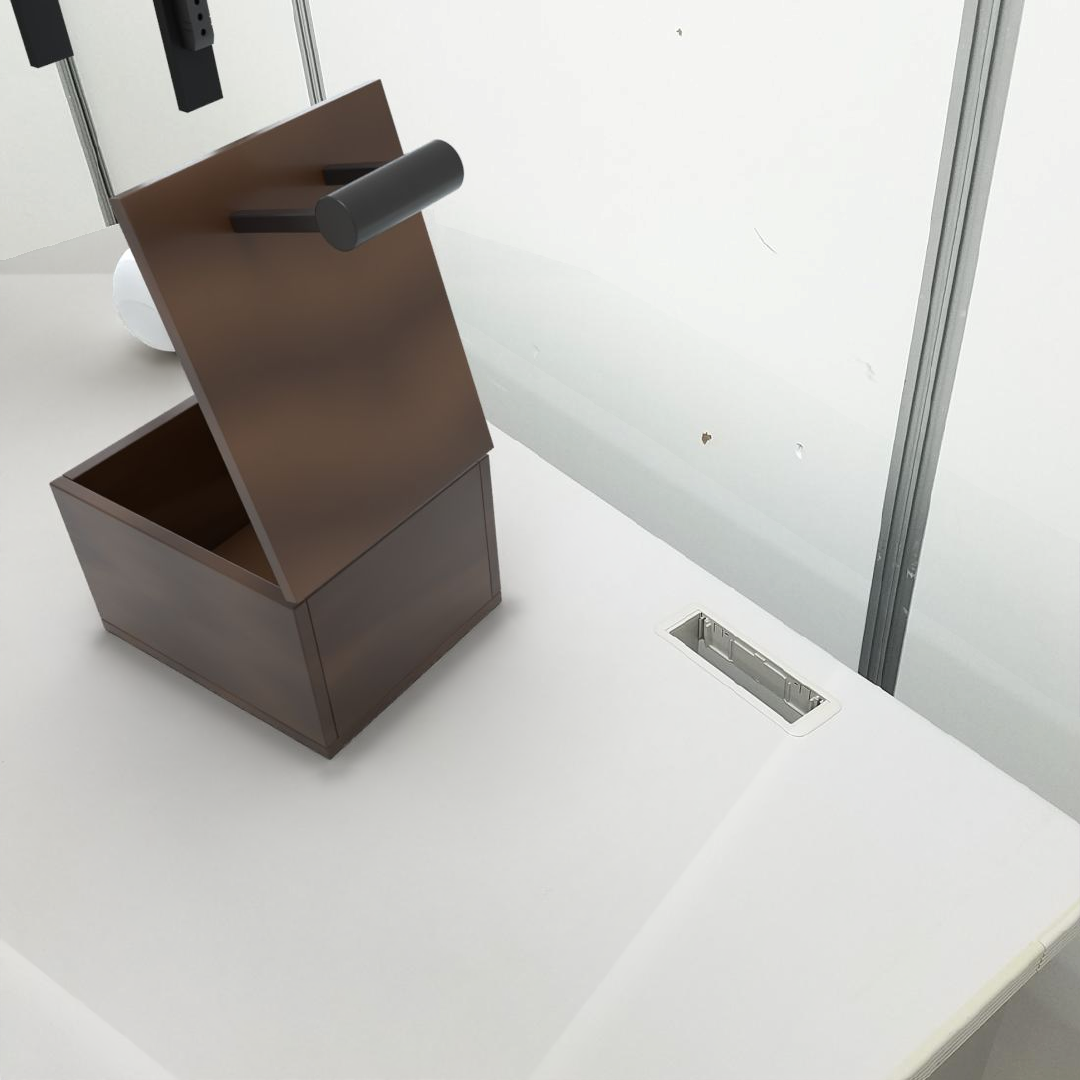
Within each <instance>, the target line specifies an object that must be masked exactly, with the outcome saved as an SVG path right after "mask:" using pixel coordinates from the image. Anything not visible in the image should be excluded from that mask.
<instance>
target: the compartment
mask: <svg viewBox="0 0 1080 1080" xmlns="http://www.w3.org/2000/svg"><path fill="white" fill-rule="evenodd" d="M48 485H49V487H50V490H51V492H52V493H51V494H52V495H53V497H54V501H55V503H56V506H57V508H58V511H59V513H60V516H61V518H62V521H63V523H64V527H65V529H66V532H67V535H68V536H69V537H68V538H69V539H70V542H71V545H72V548H73V550H74V551H75V552H74V553H75V555H76V558H77V560H78V562H79V566H80V567H81V571H82V573H83V576H84V579H85V581H86V583H87V586H88V588H89V591H90V594H91V596H92V599H93V602H94V605H95V607H96V609H97V612H98V615H99V617H100V618H101V622H102V626H103V628H104V629H105V630H107V631H108V632H110V633H111V634H113V635H115V636H117V637H119V638H120V639H122V640H124V641H126V642H127V643H129V644H131V645H132V646H134V647H136V648H137V649H139V650H141V651H143V652H144V653H146V654H148V655H150V656H151V657H153V658H155V659H157V660H158V661H160V662H162V663H164V664H165V665H166V666H169V667H170V668H172V669H174V670H175V671H177V672H179V673H180V674H182V675H184V676H185V677H187V678H188V679H191V680H193V681H194V682H195V683H197V684H200V685H201V686H203V687H204V688H206V689H208V690H210V691H211V692H213V693H215V694H217V695H219V696H220V697H222V698H224V699H225V700H227V701H229V702H231V703H232V704H234V705H235V706H237V707H239V708H241V709H243V710H244V711H246V712H248V713H249V714H251V715H253V716H255V718H258V719H259V720H262V721H263V722H265V723H266V724H268V725H270V726H272V727H274V728H275V729H277V730H279V731H280V732H282V733H284V734H285V735H288V736H289V737H290V738H292V739H294V740H296V741H297V742H299V743H301V744H303V745H304V746H306V747H308V748H310V749H311V750H313V751H314V752H316V753H318V754H320V755H321V756H323V757H325V758H326V759H329V760H331V759H333V757H334V756H336V755H337V754H338V753H339V752H340V750H342V749H343V748H344V747H345V746H346V745H347V744H348V743H349V742H350V741H352V740H353V738H355V737H356V736H357V735H358V734H359V733H360V732H361V731H363V729H364V728H365V727H367V726H368V725H369V724H370V723H371V722H372V721H373V720H374V719H375V718H376V717H378V715H380V714H381V713H382V712H383V711H384V710H385V709H386V708H387V707H388V706H390V705H391V704H392V703H393V702H394V701H395V700H396V699H397V698H398V697H399V696H400V695H402V693H404V691H406V690H407V689H408V688H409V687H410V686H411V685H412V684H413V683H415V682H416V681H417V680H418V678H420V677H421V676H422V675H424V673H426V672H427V670H429V668H431V667H432V666H433V665H434V664H435V663H436V662H437V661H438V660H439V659H441V658H442V657H443V656H444V655H445V654H446V653H447V652H448V651H449V650H450V649H451V648H453V647H454V646H455V645H456V644H457V643H458V642H459V641H460V640H461V639H462V638H463V637H464V636H465V635H466V634H468V633H469V632H470V631H471V630H472V629H473V628H474V627H476V625H478V624H479V622H480V621H482V620H483V619H484V618H485V617H486V616H487V615H488V614H489V613H490V612H491V611H492V610H494V609H495V608H496V607H497V606H498V605H499V604H500V603H501V602H502V600H503V597H502V584H501V572H500V564H499V563H500V562H499V553H498V552H499V551H498V550H499V549H498V539H497V528H496V518H495V507H494V506H495V505H494V493H493V484H492V473H491V461H490V455H489V454H488V453H487V454H485V455H484V456H483V457H482V458H480V459H479V460H478V461H477V462H475V463H474V464H473V465H472V466H470V467H469V468H468V469H467V470H465V471H464V472H463V473H462V474H460V475H459V476H458V477H456V478H455V479H454V480H453V481H451V482H450V483H449V484H448V485H446V486H445V487H444V488H443V489H441V490H440V491H439V492H438V493H436V494H435V495H434V496H433V497H431V498H430V499H429V500H428V501H426V502H425V503H424V504H422V505H421V506H420V507H419V508H417V509H416V510H415V511H414V512H412V513H411V514H410V515H409V516H407V517H406V518H405V519H404V520H402V521H401V522H400V523H399V524H397V525H396V526H395V527H394V528H392V529H391V530H390V531H388V532H387V533H386V534H385V535H383V536H382V537H381V538H380V539H378V540H377V541H376V542H375V543H373V544H372V545H371V546H370V547H368V548H367V549H366V550H365V551H363V552H362V553H361V554H360V555H358V556H357V557H356V558H355V559H353V560H352V561H351V562H349V563H348V564H347V565H346V566H344V567H343V568H342V569H341V570H339V571H338V572H337V573H336V574H334V575H333V576H332V577H331V578H329V579H328V580H327V581H326V582H324V583H323V584H322V585H321V586H319V587H318V588H317V589H315V590H314V591H313V592H312V593H310V594H309V595H308V596H307V597H305V598H304V599H303V600H302V601H300V602H299V603H293V602H290V601H286V599H285V597H284V595H283V593H282V590H281V588H280V586H279V584H278V581H277V579H276V577H275V575H274V572H273V570H272V568H271V566H270V563H269V561H268V559H267V557H266V554H265V552H264V550H263V548H262V545H261V543H260V541H259V539H258V536H257V534H256V532H255V530H254V527H253V525H252V523H251V521H250V518H249V516H248V514H247V512H246V509H245V507H244V505H243V502H242V500H241V498H240V496H239V493H238V491H237V489H236V487H235V484H234V482H233V480H232V478H231V475H230V473H229V471H228V469H227V466H226V464H225V462H224V460H223V457H222V455H221V453H220V451H219V448H218V446H217V444H216V442H215V439H214V437H213V435H212V433H211V430H210V428H209V426H208V424H207V421H206V419H205V417H204V415H203V412H202V410H201V408H200V406H199V403H198V401H197V399H196V397H195V394H194V393H193V394H192V395H191V396H189V397H188V398H185V399H183V401H181V402H180V403H177V404H176V405H175V406H173V407H171V408H169V409H168V410H166V411H164V412H163V413H161V414H159V415H158V416H155V418H153V419H151V420H150V421H148V422H146V423H144V424H143V425H142V426H139V427H138V428H137V429H135V430H133V431H132V432H130V433H128V434H126V435H125V436H123V437H121V438H120V439H118V440H117V441H115V442H113V443H112V444H110V445H109V446H108V445H107V447H105V448H104V449H102V450H100V451H98V452H97V453H95V454H93V455H92V456H90V457H89V458H87V459H86V460H84V461H82V462H81V463H79V464H77V465H75V466H73V467H71V469H69V470H67V471H66V472H64V473H62V474H61V475H60V476H58V477H56V478H55V479H54V480H51V481H50V482H49V483H48Z"/></svg>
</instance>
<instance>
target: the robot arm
mask: <svg viewBox="0 0 1080 1080" xmlns="http://www.w3.org/2000/svg"><path fill="white" fill-rule="evenodd" d="M9 2H10V4H11V5H10V6H11V8H12V11H13V14H14V17H15V20H16V21H15V22H16V23H17V27H18V30H19V34H20V37H21V40H22V44H23V47H24V50H25V53H26V56H27V59H28V62H29V65H30V67H32V68H35V69H41V68H44V67H46V66H50V65H52V64H54V63H58V62H60V61H63V60H66V59H68V58H71V57H74V56H75V53H74V50H73V49H74V48H73V47H72V42H71V39H70V36H69V35H70V34H69V32H68V29H67V25H66V21H65V19H64V14H63V11H62V8H61V5H60V1H59V0H9ZM152 4H153V8H154V12H155V16H156V20H157V24H158V29H159V33H160V37H161V42H162V46H163V49H164V55H165V58H166V62H167V67H168V70H169V74H170V80H171V83H172V87H173V88H172V89H173V92H174V95H175V100H176V104H177V105H176V106H177V108H178V111H180V112H183V113H187V114H190V113H191V112H194V111H196V110H199V109H200V108H203V107H206V106H208V105H210V104H213V103H215V102H218V101H220V100H222V99H224V94H223V89H222V86H221V79H220V75H219V70H218V66H217V65H218V64H217V61H216V56H215V52H214V47H213V45H214V44H215V31H214V26H213V24H212V23H213V22H212V18H211V17H210V16H211V13H210V12H211V11H210V8H209V3H208V0H152Z"/></svg>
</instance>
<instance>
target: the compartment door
mask: <svg viewBox="0 0 1080 1080" xmlns="http://www.w3.org/2000/svg"><path fill="white" fill-rule="evenodd" d="M390 107H391V106H390V105H389V101H388V97H387V95H386V91H385V87H384V85H383V81H382V79H381V78H376V79H367V80H365V81H363V82H361V83H359V84H356V85H354V86H352V87H350V88H348V89H346V90H344V91H341V92H339V93H337V94H335V95H333V96H330V97H328V98H326V99H324V100H322V101H319V102H317V103H315V104H313V105H311V106H308V107H307V108H304V109H302V110H299V111H298V112H296V113H295V112H294V113H293V114H290V115H289V116H286V117H284V118H282V119H280V120H277V121H276V122H274V123H271V124H269V125H267V126H264V127H263V128H262V127H261V128H260V129H257V130H256V131H254V132H252V133H249V134H247V135H244V136H243V137H240V138H239V139H235V141H231V142H230V143H228V144H226V145H223V146H221V147H219V148H217V149H216V148H215V149H214V150H212V151H209V152H208V153H206V154H203V155H201V156H199V157H197V158H195V159H193V160H190V161H188V162H185V163H184V164H181V165H179V166H177V167H175V168H172V169H171V170H169V171H166V172H164V173H162V174H160V175H157V176H155V177H153V178H151V179H149V180H146V181H144V182H141V183H140V184H138V185H136V186H133V187H130V188H129V189H127V190H124V191H123V192H119V193H117V194H116V195H114V196H112V197H110V198H108V199H107V200H108V202H109V205H110V208H111V210H112V212H113V214H114V216H115V219H116V220H117V223H118V226H119V228H120V230H121V232H122V234H123V236H124V238H125V241H126V243H127V246H128V249H129V248H130V250H131V252H132V255H133V257H134V259H135V261H136V264H137V266H138V268H139V270H140V273H141V275H142V277H143V279H144V282H145V284H146V286H147V288H148V291H149V293H150V295H151V297H152V300H153V302H154V304H155V306H156V309H157V311H158V313H159V315H160V318H161V320H162V322H163V324H164V327H165V329H166V331H167V333H168V336H169V338H170V340H171V342H172V345H173V347H174V349H175V351H174V352H175V353H176V357H177V359H178V360H179V363H180V365H181V367H182V369H183V372H184V375H185V376H186V378H187V381H188V383H189V385H190V388H191V391H192V392H193V395H194V394H195V397H196V399H197V401H198V403H199V406H200V408H201V410H202V412H203V415H204V417H205V419H206V421H207V424H208V426H209V428H210V430H211V433H212V435H213V437H214V439H215V442H216V444H217V446H218V448H219V451H220V453H221V455H222V457H223V460H224V462H225V464H226V466H227V469H228V471H229V473H230V475H231V478H232V480H233V482H234V484H235V487H236V489H237V491H238V493H239V496H240V498H241V500H242V502H243V505H244V507H245V509H246V512H247V514H248V516H249V518H250V521H251V523H252V525H253V527H254V530H255V532H256V534H257V536H258V539H259V541H260V543H261V545H262V548H263V550H264V552H265V554H266V557H267V559H268V561H269V563H270V566H271V568H272V570H273V572H274V575H275V577H276V579H277V581H278V584H279V586H280V588H281V590H282V593H283V595H284V597H285V599H286V601H290V602H293V603H299V602H300V601H302V600H303V599H304V598H305V597H307V596H308V595H309V594H310V593H312V592H313V591H314V590H315V589H317V588H318V587H319V586H321V585H322V584H323V583H324V582H326V581H327V580H328V579H329V578H331V577H332V576H333V575H334V574H336V573H337V572H338V571H339V570H341V569H342V568H343V567H344V566H346V565H347V564H348V563H349V562H351V561H352V560H353V559H355V558H356V557H357V556H358V555H360V554H361V553H362V552H363V551H365V550H366V549H367V548H368V547H370V546H371V545H372V544H373V543H375V542H376V541H377V540H378V539H380V538H381V537H382V536H383V535H385V534H386V533H387V532H388V531H390V530H391V529H392V528H394V527H395V526H396V525H397V524H399V523H400V522H401V521H402V520H404V519H405V518H406V517H407V516H409V515H410V514H411V513H412V512H414V511H415V510H416V509H417V508H419V507H420V506H421V505H422V504H424V503H425V502H426V501H428V500H429V499H430V498H431V497H433V496H434V495H435V494H436V493H438V492H439V491H440V490H441V489H443V488H444V487H445V486H446V485H448V484H449V483H450V482H451V481H453V480H454V479H455V478H456V477H458V476H459V475H460V474H462V473H463V472H464V471H465V470H467V469H468V468H469V467H470V466H472V465H473V464H474V463H475V462H477V461H478V460H479V459H480V458H482V457H483V456H484V455H485V454H488V453H490V452H491V451H492V450H493V449H495V446H494V445H495V444H494V442H493V439H492V435H491V432H490V429H489V425H488V422H487V419H486V415H485V412H484V409H483V405H482V403H481V400H480V396H479V393H478V390H477V386H476V384H475V381H474V377H473V374H472V370H471V367H470V364H469V360H468V358H467V355H466V354H467V353H466V350H465V348H464V345H463V340H462V338H461V335H460V331H459V328H458V325H457V321H456V319H455V316H454V312H453V309H452V306H451V302H450V298H449V296H448V293H447V290H446V286H445V282H444V280H443V276H442V273H441V270H440V266H439V263H438V260H437V256H436V253H435V250H434V247H433V244H432V241H431V236H430V234H429V230H428V228H427V224H426V221H425V218H424V214H423V212H422V211H423V210H424V209H427V208H428V207H430V206H432V205H434V204H436V203H437V202H440V201H441V200H442V199H444V198H445V197H447V196H449V195H451V194H452V193H454V192H456V191H458V190H459V189H460V188H461V187H462V185H463V183H464V180H465V167H464V163H463V160H462V157H461V156H460V154H459V153H458V151H457V150H456V148H454V146H453V145H452V144H450V143H449V142H448V141H445V140H443V139H439V138H437V139H436V138H434V139H431V140H429V141H426V142H425V143H423V144H421V145H420V146H419V145H418V146H417V147H415V148H413V149H412V150H410V151H408V152H406V153H404V149H403V147H402V144H401V140H400V136H399V134H398V130H397V127H396V123H395V120H394V117H393V114H392V111H391V108H390Z"/></svg>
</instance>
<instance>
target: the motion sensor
mask: <svg viewBox="0 0 1080 1080" xmlns="http://www.w3.org/2000/svg"><path fill="white" fill-rule="evenodd" d="M112 295H113V301H114V306H115V309H116V312H117V314H118V317H119V320H120V321H121V322H122V324H123V326H124V327H125V328H126V329H127V331H128V332H130V334H132V335H133V336H134V337H135V338H136V339H138V340H139V341H140V342H141V343H143V344H145V345H147V346H149V347H150V348H153V349H155V350H159V351H164V352H176V351H175V349H174V347H173V345H172V342H171V340H170V338H169V336H168V333H167V331H166V329H165V327H164V324H163V322H162V320H161V318H160V315H159V313H158V311H157V309H156V306H155V304H154V302H153V300H152V297H151V295H150V293H149V291H148V288H147V286H146V284H145V282H144V279H143V277H142V275H141V273H140V270H139V268H138V266H137V264H136V261H135V259H134V257H133V255H132V252H131V250H130V248H129V247H128V248H127V249H126V251H125V252H124V253H123V254H122V256H121V257H120V259H119V261H118V263H117V265H116V267H115V270H114V273H113V278H112Z"/></svg>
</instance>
